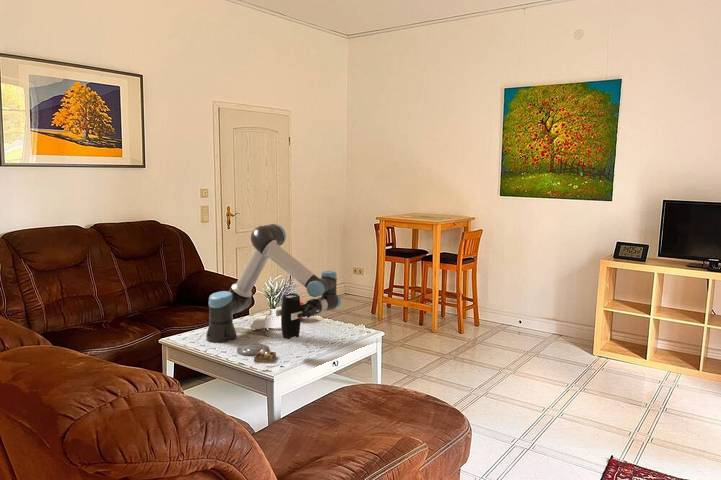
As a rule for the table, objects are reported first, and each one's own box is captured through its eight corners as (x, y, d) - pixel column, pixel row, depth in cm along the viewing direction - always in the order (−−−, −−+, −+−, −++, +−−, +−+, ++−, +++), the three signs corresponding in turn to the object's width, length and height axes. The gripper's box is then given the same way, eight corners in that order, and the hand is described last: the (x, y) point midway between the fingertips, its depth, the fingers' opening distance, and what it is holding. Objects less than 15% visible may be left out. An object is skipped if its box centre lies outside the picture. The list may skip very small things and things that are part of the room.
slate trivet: (242, 345, 272) (242, 343, 272) (272, 346, 271) (272, 344, 271) (232, 355, 258) (232, 352, 257) (264, 356, 256) (263, 354, 256)
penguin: (254, 336, 298) (280, 326, 299) (247, 322, 296) (274, 312, 297) (255, 332, 306) (280, 321, 307) (249, 318, 305) (274, 308, 306)
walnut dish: (259, 355, 257) (258, 351, 257) (275, 356, 256) (275, 352, 256) (254, 361, 249) (254, 357, 249) (271, 362, 248) (271, 357, 248)
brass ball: (265, 357, 252) (264, 350, 252) (271, 357, 252) (271, 351, 252) (263, 359, 249) (263, 352, 249) (269, 359, 249) (269, 353, 249)
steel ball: (260, 354, 256) (260, 348, 255) (267, 354, 255) (267, 348, 255) (258, 356, 253) (258, 350, 252) (265, 356, 252) (265, 350, 252)
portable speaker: (291, 332, 260) (292, 292, 258) (304, 337, 254) (305, 295, 251) (276, 336, 254) (277, 294, 252) (289, 340, 248) (289, 298, 245)
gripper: (333, 317, 262) (301, 327, 243) (299, 310, 274) (266, 319, 256) (333, 301, 261) (301, 311, 242) (299, 295, 273) (266, 303, 255)
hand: (283, 315), depth 249 cm, fingers closed on portable speaker, 9 cm apart
